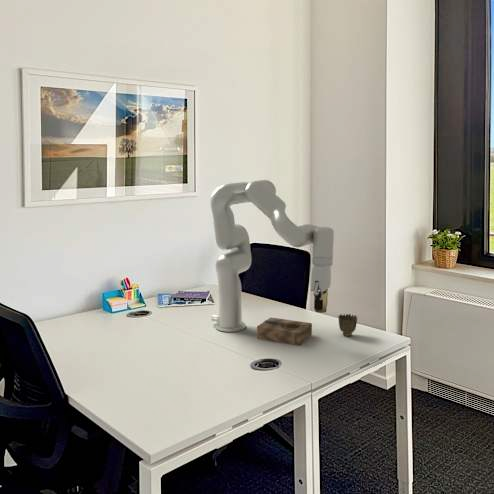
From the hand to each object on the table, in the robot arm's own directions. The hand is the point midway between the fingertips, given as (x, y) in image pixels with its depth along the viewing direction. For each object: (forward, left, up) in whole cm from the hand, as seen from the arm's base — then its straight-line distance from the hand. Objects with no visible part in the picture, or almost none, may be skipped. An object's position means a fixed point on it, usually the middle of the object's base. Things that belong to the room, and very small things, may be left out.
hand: (320, 307), depth 211 cm
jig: (-16, +2, -15) cm, 21 cm away
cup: (+6, +14, -15) cm, 21 cm away
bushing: (0, 0, -1) cm, 1 cm away
